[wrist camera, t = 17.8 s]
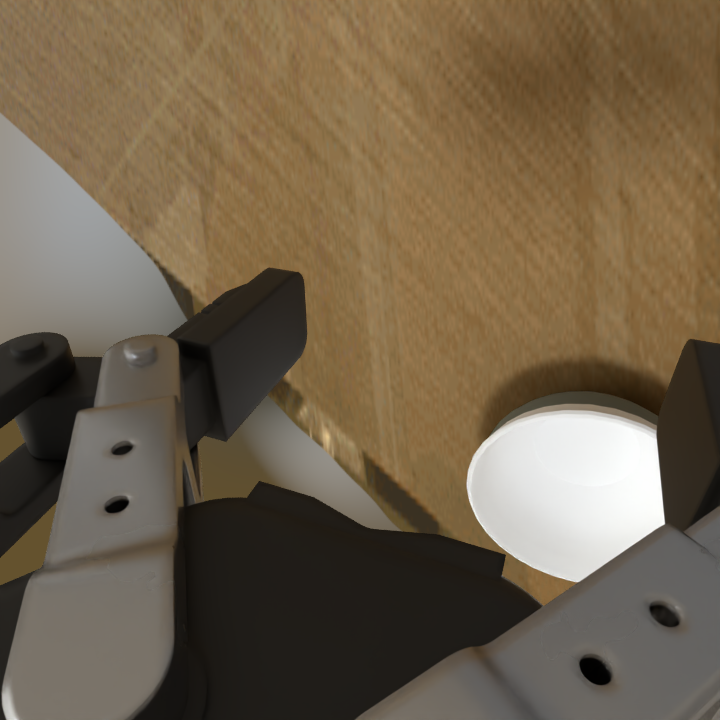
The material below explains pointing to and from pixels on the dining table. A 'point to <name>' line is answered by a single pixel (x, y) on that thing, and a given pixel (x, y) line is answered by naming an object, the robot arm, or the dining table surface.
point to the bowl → (569, 481)
